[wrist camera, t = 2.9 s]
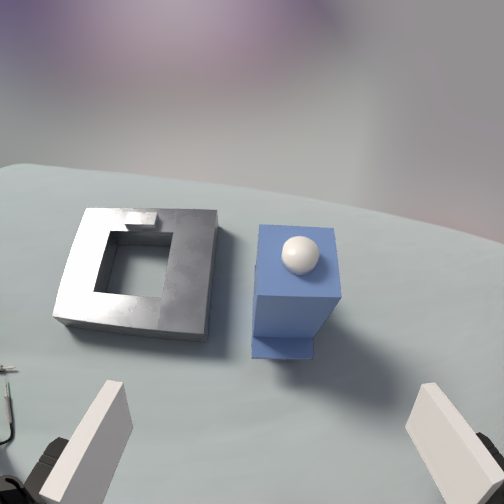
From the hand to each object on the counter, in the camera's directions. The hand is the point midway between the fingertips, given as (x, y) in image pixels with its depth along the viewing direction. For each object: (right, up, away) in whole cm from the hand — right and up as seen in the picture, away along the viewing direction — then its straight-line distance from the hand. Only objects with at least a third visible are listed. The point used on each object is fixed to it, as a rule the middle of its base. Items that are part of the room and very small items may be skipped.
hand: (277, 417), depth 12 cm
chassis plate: (-12, +5, +17) cm, 21 cm away
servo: (+1, +1, +15) cm, 15 cm away
